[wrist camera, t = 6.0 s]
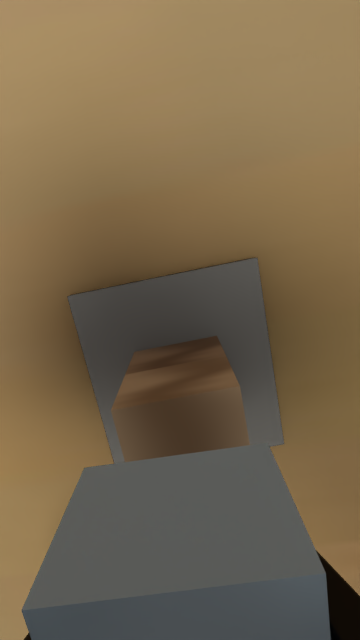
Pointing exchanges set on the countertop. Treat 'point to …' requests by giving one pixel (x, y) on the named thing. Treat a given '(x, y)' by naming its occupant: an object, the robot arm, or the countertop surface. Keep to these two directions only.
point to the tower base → (175, 354)
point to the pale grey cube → (181, 555)
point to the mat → (182, 335)
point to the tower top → (180, 410)
